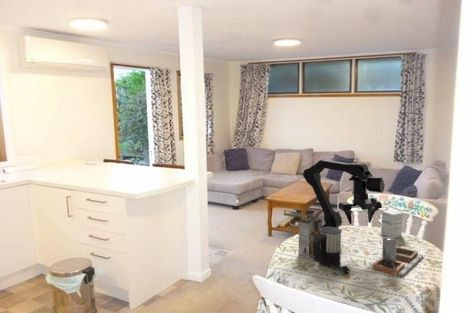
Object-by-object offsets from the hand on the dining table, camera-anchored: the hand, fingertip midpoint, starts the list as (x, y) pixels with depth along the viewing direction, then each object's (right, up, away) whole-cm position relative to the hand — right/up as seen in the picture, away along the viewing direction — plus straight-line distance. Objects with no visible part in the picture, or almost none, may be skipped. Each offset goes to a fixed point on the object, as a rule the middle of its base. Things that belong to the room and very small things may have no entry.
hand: (360, 223), depth 170 cm
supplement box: (+24, -10, +21) cm, 33 cm away
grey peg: (+5, -15, -19) cm, 25 cm away
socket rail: (+12, -14, -14) cm, 23 cm away
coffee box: (-24, -14, -3) cm, 28 cm away
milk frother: (-16, -15, -17) cm, 28 cm away
